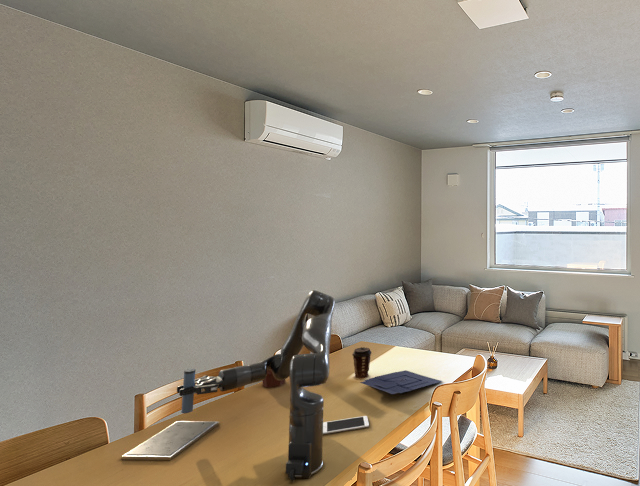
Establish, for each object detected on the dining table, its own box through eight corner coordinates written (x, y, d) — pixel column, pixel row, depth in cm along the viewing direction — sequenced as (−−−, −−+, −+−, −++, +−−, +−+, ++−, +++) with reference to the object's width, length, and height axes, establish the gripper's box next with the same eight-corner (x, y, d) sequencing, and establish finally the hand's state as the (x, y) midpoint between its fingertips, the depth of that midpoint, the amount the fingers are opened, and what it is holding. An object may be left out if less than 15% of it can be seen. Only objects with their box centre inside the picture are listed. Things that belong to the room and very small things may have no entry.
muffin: (289, 377, 185) (289, 356, 185) (287, 386, 174) (287, 364, 175) (261, 381, 180) (261, 359, 181) (257, 390, 170) (257, 367, 170)
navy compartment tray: (355, 388, 170) (356, 379, 171) (404, 375, 194) (405, 368, 195) (395, 402, 156) (396, 393, 157) (442, 387, 181) (443, 379, 181)
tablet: (170, 460, 118) (170, 456, 118) (121, 459, 118) (121, 455, 119) (218, 424, 140) (218, 421, 140) (177, 423, 140) (177, 420, 140)
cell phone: (320, 424, 141) (320, 422, 141) (367, 417, 146) (367, 415, 146) (320, 435, 133) (320, 433, 133) (369, 427, 139) (369, 425, 139)
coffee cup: (364, 372, 193) (364, 345, 193) (374, 376, 188) (375, 348, 188) (348, 377, 186) (349, 349, 186) (359, 381, 181) (359, 353, 181)
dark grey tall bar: (188, 413, 134) (191, 371, 134) (178, 413, 134) (181, 371, 134) (195, 409, 137) (197, 368, 138) (185, 409, 137) (188, 368, 138)
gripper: (229, 363, 151) (174, 375, 138) (241, 372, 142) (183, 385, 129) (228, 382, 151) (173, 396, 138) (241, 393, 141) (182, 408, 129)
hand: (178, 391), depth 134 cm, fingers closed on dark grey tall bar, 3 cm apart
